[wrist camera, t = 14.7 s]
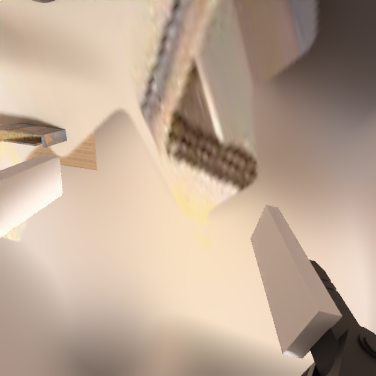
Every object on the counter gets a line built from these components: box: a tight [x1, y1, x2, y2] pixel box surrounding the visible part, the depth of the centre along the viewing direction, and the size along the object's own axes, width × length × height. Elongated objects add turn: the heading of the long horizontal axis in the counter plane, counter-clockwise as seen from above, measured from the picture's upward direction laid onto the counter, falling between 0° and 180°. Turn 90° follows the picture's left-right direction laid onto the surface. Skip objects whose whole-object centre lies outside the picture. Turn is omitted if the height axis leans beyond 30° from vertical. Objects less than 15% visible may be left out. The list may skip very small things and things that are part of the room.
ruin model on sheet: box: [0, 123, 97, 170], centre depth 44 cm, size 25×16×10 cm, turn 83°
